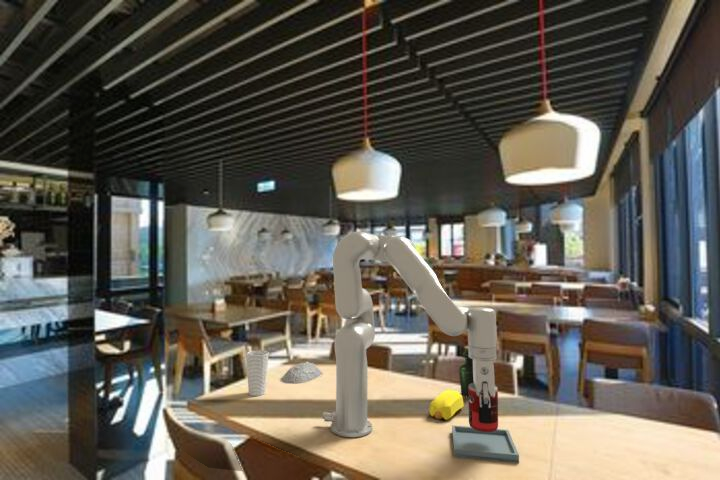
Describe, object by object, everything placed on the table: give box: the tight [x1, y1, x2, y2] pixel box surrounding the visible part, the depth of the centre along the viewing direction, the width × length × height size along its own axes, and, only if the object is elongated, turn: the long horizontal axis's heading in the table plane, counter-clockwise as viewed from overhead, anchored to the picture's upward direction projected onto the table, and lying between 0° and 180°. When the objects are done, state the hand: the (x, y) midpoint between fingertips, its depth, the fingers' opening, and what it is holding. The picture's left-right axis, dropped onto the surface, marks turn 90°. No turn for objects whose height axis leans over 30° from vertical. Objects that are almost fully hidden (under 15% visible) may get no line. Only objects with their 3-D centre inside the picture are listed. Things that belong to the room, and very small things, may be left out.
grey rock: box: [280, 361, 324, 385], centre depth 182 cm, size 16×25×7 cm, turn 161°
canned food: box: [467, 383, 499, 432], centre depth 115 cm, size 8×8×11 cm
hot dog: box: [429, 389, 464, 421], centre depth 140 cm, size 18×7×8 cm
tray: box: [451, 425, 520, 464], centre depth 114 cm, size 16×16×2 cm
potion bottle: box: [458, 345, 474, 398], centre depth 159 cm, size 8×8×18 cm
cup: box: [245, 349, 270, 397], centre depth 158 cm, size 8×8×16 cm
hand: (483, 415), depth 114 cm, fingers closed on canned food, 8 cm apart
